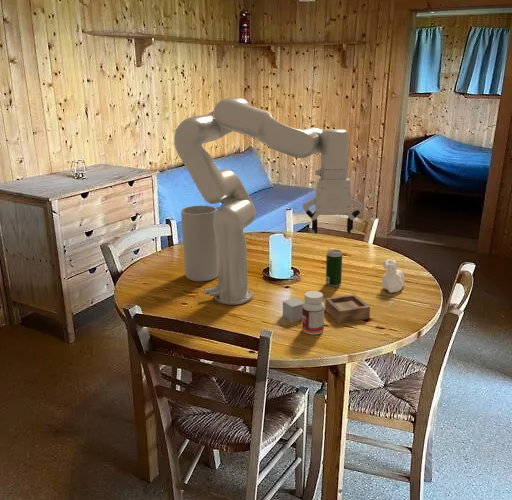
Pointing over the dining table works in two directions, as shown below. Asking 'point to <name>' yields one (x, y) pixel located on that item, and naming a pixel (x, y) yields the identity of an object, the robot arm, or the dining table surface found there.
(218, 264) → the robot arm
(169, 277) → the dining table surface
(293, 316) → the grey cube
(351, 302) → the brown square tray
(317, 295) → the pill bottle
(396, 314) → the dining table surface
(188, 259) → the cylinder vase
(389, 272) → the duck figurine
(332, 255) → the beer can
